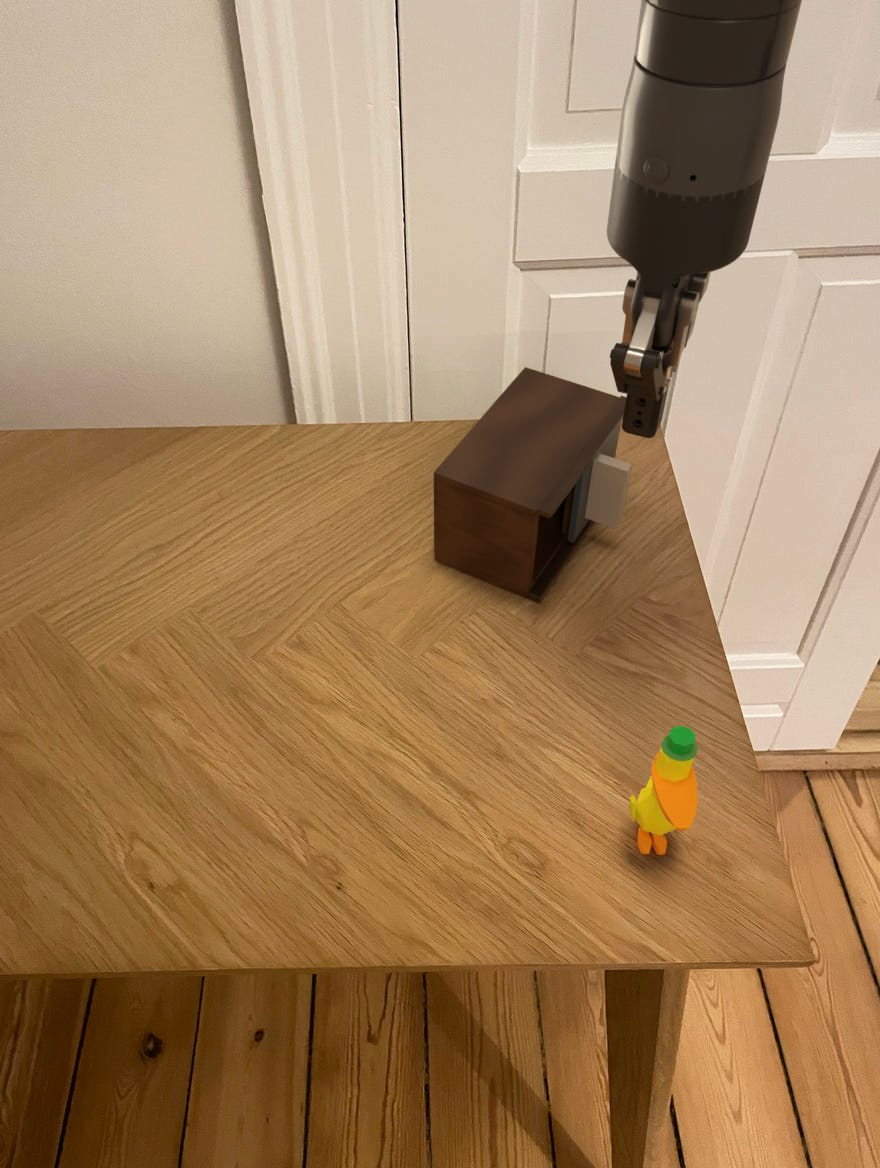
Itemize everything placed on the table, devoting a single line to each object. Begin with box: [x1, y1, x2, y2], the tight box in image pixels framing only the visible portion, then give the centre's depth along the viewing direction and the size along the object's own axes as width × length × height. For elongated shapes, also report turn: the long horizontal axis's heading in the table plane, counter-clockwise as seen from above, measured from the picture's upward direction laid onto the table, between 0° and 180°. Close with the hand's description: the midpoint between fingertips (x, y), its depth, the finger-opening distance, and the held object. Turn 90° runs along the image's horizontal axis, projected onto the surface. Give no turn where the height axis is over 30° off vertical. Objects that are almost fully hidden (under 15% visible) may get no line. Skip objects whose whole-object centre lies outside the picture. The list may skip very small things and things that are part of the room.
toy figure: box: [628, 725, 699, 856], centre depth 62 cm, size 7×4×12 cm, turn 179°
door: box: [567, 421, 633, 543], centre depth 82 cm, size 4×8×8 cm, turn 149°
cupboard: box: [433, 366, 627, 604], centre depth 83 cm, size 10×16×10 cm, turn 149°
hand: (640, 428), depth 63 cm, fingers closed
